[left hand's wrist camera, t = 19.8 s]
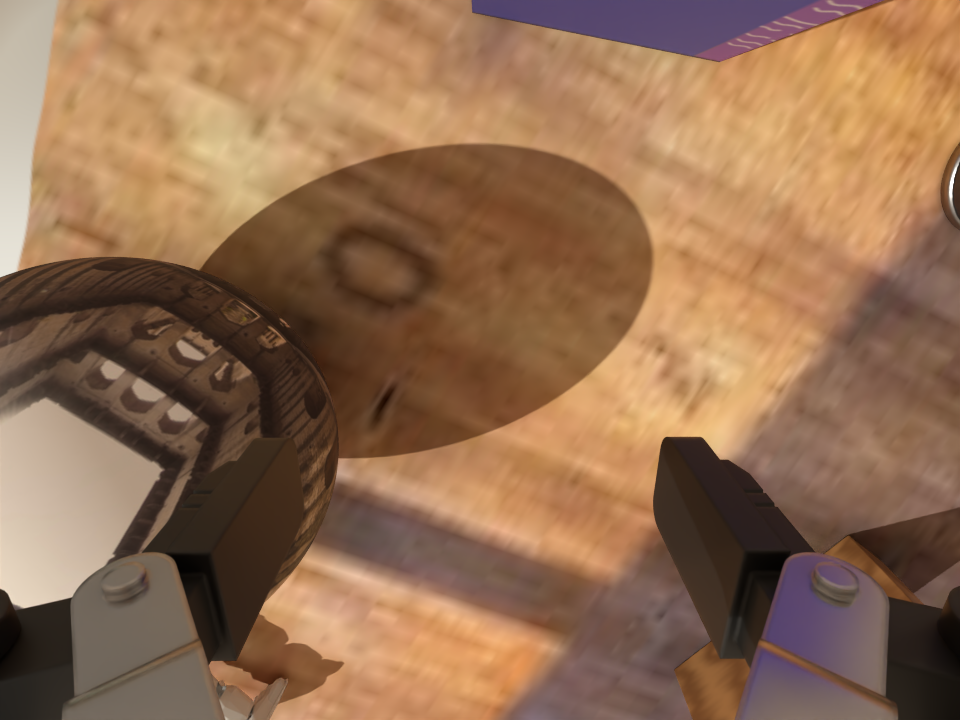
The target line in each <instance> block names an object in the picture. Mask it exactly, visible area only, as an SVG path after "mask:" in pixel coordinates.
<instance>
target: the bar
mask: <svg viewBox="0 0 960 720" xmlns="http://www.w3.org/2000/svg"><path fill="white" fill-rule="evenodd" d="M825 554H826V555H830V556H833V557H836V558H839V559H841V560H844V561H846V562H848V563H850V564H852V565H854V566H856V567H858V568H859V569H861V570H863V571H864V572H866V573H867V574H868V575H870V576H871V577H872V578H873V579H874V580H875V581H876V582H878V584H879V585H880V586H881V587H882V588H883V590H884V591H885V593H886V594H887V596H888V597H892V598H896V599H901V600H905V601H909V602H914V603H918V604H923V603H922V602H921V601H920V600H919V599H918V598H917V597H916V596H915V595H914V594H913V593H912V592H911V591H910V590H909V589H908V588H907V587H906V586H905V585H904V584H903V583H902V582H901V581H900V580H899V579H898V578H897V577H896V576H895V575H894V574H893V572H892V571H891V570H890V569H889V568H888V567H887V566H886V565H885V564H884V563H883V562H882V561H880V560H879V559H878V558H877V557H875V556H874V555H873V554H872V553H870V552H869V551H868V550H867V549H865V548H864V547H863V546H862V545H860V544H859V543H858V542H857V541H855V540H854V539H853V538H852V537H850V536H849V535H848V536H846V537H845V538H844V539H843V540H841V541H840V542H839V543H837V544H836V545H835V546H834V547H832V548H831V549H830V550H828V551H827V552H826V553H825ZM923 605H924V604H923ZM674 671H675V673H676V676H677V679H678V681H679V684H680V687H681V689H682V692H683V695H684V697H685V700H686V703H687V705H688V708H689V711H690V713H691V716H692V719H693V720H735V717H736V713H737V710H738V707H739V704H740V700H741V697H742V694H743V691H744V687H745V684H746V681H747V678H748V675H749V671H750V668H749V666H748V664H747V662H746V660H745V659H720V658H719V656H718V654H717V652H716V650H715V647H714V645H713V643H712V641H711V642H710V643H708V644H707V645H706V646H704V647H703V648H702V649H701V650H699V651H698V652H697V653H695V654H694V655H693V656H691V657H690V658H689V659H688V660H686V661H685V662H684V663H682V664H681V665H680V666H679V667H677V668H676V669H675V670H674Z"/></svg>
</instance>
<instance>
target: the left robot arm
mask: <svg viewBox="0 0 960 720" xmlns="http://www.w3.org/2000/svg"><path fill="white" fill-rule="evenodd" d="M941 202H942V207H943V210H944V212H945V215H946V216H947V218H948V220H949V221H950V222H951V223H952V224H953V225H954V226H955V227H956V228H957V229H959V230H960V143H959V144H958V146H957V147H956V149H955V150H954V152H953V154H952V155H951V157H950V159H949V161H948V163H947V166H946V168H945V171H944V174H943V178H942V184H941ZM653 509H654V516H655V521H656V524H657V527H658V529H659V531H660V533H661V535H662V538H663V540H664V542H665V544H666V546H667V548H668V550H669V552H670V554H671V557H672V559H673V561H674V563H675V565H676V567H677V569H678V571H679V573H680V576H681V578H682V580H683V582H684V584H685V586H686V588H687V590H688V592H689V595H690V597H691V599H692V601H693V603H694V605H695V607H696V609H697V612H698V614H699V616H700V618H701V620H702V622H703V624H704V626H705V628H706V631H707V633H708V635H709V637H710V639H711V641H712V643H713V645H714V647H715V650H716V652H717V654H718V656H719V658H720V659H745V660H746V662H747V664H748V666H749V668H750V671H749V675H748V678H747V681H746V684H745V687H744V691H743V694H742V697H741V700H740V704H739V707H738V710H737V713H736V717H735V720H960V586H958V587H956V588H954V589H953V590H952V591H951V592H950V593H949V596H948V598H947V600H946V603H945V605H944V607H943V609H940V608H936V607H931V606H927V605H923V604H918V603H914V602H909V601H905V600H901V599H896V598H892V597H888V596H887V594H886V593H885V591H884V590H883V588H882V587H881V586H880V585H879V584H878V582H876V581H875V580H874V579H873V578H872V577H871V576H870V575H868V574H867V573H866V572H864V571H863V570H861V569H859V568H858V567H856V566H854V565H852V564H850V563H848V562H846V561H844V560H841V559H839V558H836V557H833V556H830V555H826V554H821V553H815V551H814V550H813V549H812V548H811V547H810V545H809V544H808V543H807V542H806V541H805V539H804V538H803V537H802V536H801V535H800V534H799V532H798V531H797V530H796V529H795V528H794V526H793V525H792V524H791V523H790V522H789V520H788V519H787V518H786V517H785V516H784V514H783V513H782V512H781V511H780V510H779V508H778V507H775V506H774V502H773V501H772V500H771V499H770V498H769V496H768V495H767V494H766V493H763V489H762V488H761V487H760V486H759V484H758V483H757V482H756V481H755V480H754V479H753V477H752V476H751V475H750V474H749V473H748V472H746V471H745V470H743V469H741V468H740V467H738V466H737V465H735V464H734V463H732V462H731V461H729V460H720V459H719V458H718V457H717V455H716V454H715V453H714V451H713V450H712V449H711V448H710V446H709V445H708V444H707V442H706V441H705V440H704V439H703V438H702V437H665V438H664V439H663V441H662V444H661V449H660V455H659V462H658V469H657V476H656V483H655V490H654V497H653ZM303 513H304V495H303V488H302V482H301V475H300V468H299V461H298V455H297V448H296V444H295V442H294V440H293V439H292V438H255V439H254V440H253V441H252V442H251V443H250V445H249V446H248V447H247V448H246V450H245V451H244V452H243V453H242V455H241V456H240V457H239V458H238V460H237V461H228V462H226V463H225V464H223V465H221V466H220V467H218V468H217V469H215V470H214V471H212V472H211V473H209V474H208V475H207V476H206V477H205V478H204V479H203V480H202V481H201V483H200V484H199V485H198V486H197V487H196V489H195V490H194V491H193V494H191V495H190V496H189V497H188V498H187V499H186V500H185V502H184V503H183V504H182V508H179V509H178V510H177V511H176V512H175V513H174V515H173V516H172V517H171V518H170V519H169V521H168V522H167V523H166V524H165V525H164V527H163V528H162V529H161V530H160V531H159V532H158V534H157V535H156V536H155V537H154V538H153V540H152V541H151V542H150V543H149V544H148V545H147V547H146V548H145V549H144V550H143V551H142V553H139V554H134V555H130V556H127V557H124V558H121V559H119V560H116V561H114V562H112V563H110V564H108V565H106V566H104V567H102V568H101V569H99V570H97V571H96V572H94V573H93V574H92V575H90V576H89V577H88V578H87V579H86V580H85V581H84V582H82V584H81V585H80V586H79V587H78V588H77V590H76V591H75V593H74V594H73V597H71V598H67V599H63V600H59V601H54V602H50V603H45V604H41V605H37V606H32V607H28V608H23V609H19V610H15V609H14V607H13V604H12V602H11V600H10V597H9V595H8V593H7V592H5V591H4V590H2V589H0V720H225V717H224V713H223V710H222V707H221V704H220V700H219V697H218V694H217V691H216V687H215V684H214V681H213V678H212V675H211V671H210V668H209V664H210V662H211V661H236V660H237V658H238V656H239V654H240V652H241V650H242V648H243V646H244V644H245V641H246V639H247V637H248V635H249V633H250V631H251V629H252V627H253V625H254V623H255V621H256V618H257V616H258V614H259V612H260V610H261V608H262V606H263V604H264V602H265V600H266V598H267V595H268V593H269V591H270V589H271V587H272V585H273V583H274V581H275V579H276V577H277V575H278V573H279V570H280V568H281V566H282V564H283V562H284V560H285V558H286V556H287V554H288V552H289V550H290V547H291V545H292V543H293V541H294V539H295V537H296V535H297V533H298V531H299V529H300V526H301V523H302V519H303Z"/></svg>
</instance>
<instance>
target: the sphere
mask: <svg viewBox="0 0 960 720" xmlns="http://www.w3.org/2000/svg"><path fill="white" fill-rule="evenodd" d="M255 438H292V439H293V440H294V442H295V444H296V448H297V455H298V461H299V468H300V475H301V482H302V488H303V495H304V513H303V519H302V523H301V526H300V529H299V531H298V533H297V535H296V537H295V539H294V541H293V543H292V545H291V547H290V550H289V552H288V554H287V556H286V558H285V560H284V562H283V564H282V566H281V568H280V570H279V573H278V575H277V577H276V579H275V581H274V583H273V585H272V587H271V589H270V591H269V593H268V595H267V598H266V600H267V599H268V598H270V597H271V596H272V595H273V594H274V593H275V591H276V590H277V589H278V588H279V587H280V586H281V585H282V584H283V583H284V582H285V580H286V579H287V578H288V577H289V576H290V574H291V573H292V572H293V571H294V569H295V568H296V567H297V565H298V564H299V563H300V561H301V560H302V558H303V557H304V555H305V554H306V552H307V550H308V549H309V547H310V546H311V544H312V542H313V540H314V538H315V537H316V535H317V533H318V531H319V528H320V526H321V524H322V522H323V519H324V517H325V514H326V512H327V509H328V506H329V503H330V500H331V497H332V493H333V489H334V484H335V479H336V473H337V466H338V450H339V443H338V428H337V420H336V414H335V409H334V405H333V401H332V398H331V395H330V392H329V389H328V386H327V383H326V381H325V379H324V376H323V374H322V372H321V370H320V368H319V366H318V364H317V363H316V361H315V359H314V357H313V356H312V354H311V353H310V351H309V350H308V348H307V347H306V345H305V344H304V343H303V341H302V340H301V339H300V338H299V336H298V335H297V334H296V333H295V332H294V331H293V330H292V328H291V327H290V326H289V325H288V324H287V323H286V322H285V321H284V320H283V319H282V318H281V317H279V316H278V315H277V314H276V313H275V312H274V311H272V310H271V309H270V308H269V307H267V306H266V305H265V304H263V303H262V302H261V301H259V300H258V299H256V298H255V297H253V296H252V295H250V294H249V293H247V292H245V291H244V290H242V289H240V288H238V287H236V286H234V285H232V284H230V283H228V282H226V281H224V280H222V279H220V278H217V277H215V276H212V275H210V274H207V273H204V272H201V271H198V270H195V269H192V268H189V267H185V266H181V265H177V264H173V263H168V262H162V261H157V260H150V259H141V258H128V257H95V258H82V259H73V260H65V261H59V262H54V263H49V264H44V265H40V266H35V267H32V268H28V269H24V270H21V271H18V272H15V273H12V274H9V275H6V276H3V277H0V589H2V590H4V591H5V592H7V593H8V595H9V597H10V600H11V602H12V604H13V607H14V609H15V610H19V609H23V608H28V607H32V606H37V605H41V604H45V603H50V602H54V601H59V600H63V599H67V598H71V597H73V594H74V593H75V591H76V590H77V588H78V587H79V586H80V585H81V584H82V582H84V581H85V580H86V579H87V578H88V577H89V576H90V575H92V574H93V573H94V572H96V571H97V570H99V569H101V568H102V567H104V566H106V565H108V564H110V563H112V562H114V561H116V560H119V559H121V558H124V557H127V556H130V555H134V554H139V553H142V551H143V550H144V549H145V548H146V547H147V545H148V544H149V543H150V542H151V541H152V540H153V538H154V537H155V536H156V535H157V534H158V532H159V531H160V530H161V529H162V528H163V527H164V525H165V524H166V523H167V522H168V521H169V519H170V518H171V517H172V516H173V515H174V513H175V512H176V511H177V510H178V509H179V508H182V504H183V503H184V502H185V500H186V499H187V498H188V497H189V496H190V495H191V494H193V491H194V490H195V489H196V487H197V486H198V485H199V484H200V483H201V481H202V480H203V479H204V478H205V477H206V476H207V475H208V474H209V473H211V472H212V471H214V470H215V469H217V468H218V467H220V466H221V465H223V464H225V463H226V462H228V461H237V460H238V458H239V457H240V456H241V455H242V453H243V452H244V451H245V450H246V448H247V447H248V446H249V445H250V443H251V442H252V441H253V440H254V439H255ZM266 600H265V601H266Z"/></svg>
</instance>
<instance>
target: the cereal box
mask: <svg viewBox="0 0 960 720" xmlns="http://www.w3.org/2000/svg"><path fill="white" fill-rule="evenodd" d="M881 1H883V0H472V13H477V14H482V15H487V16H492V17H497V18H502V19H507V20H512V21H517V22H522V23H527V24H532V25H537V26H542V27H547V28H552V29H557V30H562V31H567V32H572V33H577V34H582V35H587V36H592V37H597V38H602V39H607V40H612V41H617V42H622V43H627V44H632V45H637V46H642V47H647V48H652V49H657V50H662V51H667V52H672V53H677V54H682V55H687V56H692V57H697V58H702V59H707V60H712V61H717V62H720V61H723V60H726V59H728V58H731V57H734V56H736V55H739V54H742V53H744V52H747V51H750V50H752V49H755V48H758V47H760V46H763V45H766V44H768V43H771V42H774V41H776V40H779V39H782V38H785V37H787V36H790V35H793V34H795V33H798V32H801V31H803V30H806V29H809V28H811V27H814V26H817V25H819V24H822V23H825V22H827V21H830V20H833V19H835V18H838V17H841V16H843V15H846V14H849V13H851V12H854V11H857V10H859V9H862V8H865V7H867V6H870V5H873V4H875V3H878V2H881Z"/></svg>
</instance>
